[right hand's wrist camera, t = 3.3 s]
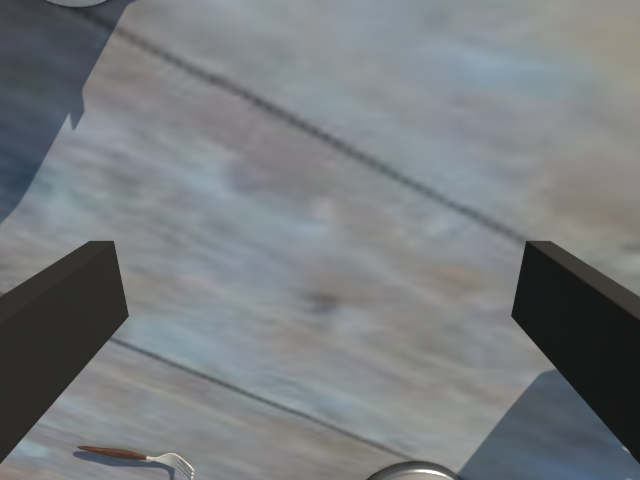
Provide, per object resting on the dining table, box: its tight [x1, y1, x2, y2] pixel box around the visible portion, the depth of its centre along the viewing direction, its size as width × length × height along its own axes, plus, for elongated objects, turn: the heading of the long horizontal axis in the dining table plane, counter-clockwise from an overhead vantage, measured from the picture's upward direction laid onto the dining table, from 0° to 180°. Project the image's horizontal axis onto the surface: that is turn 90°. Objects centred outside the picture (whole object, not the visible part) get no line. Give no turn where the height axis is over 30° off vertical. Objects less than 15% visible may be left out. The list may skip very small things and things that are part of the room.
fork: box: [78, 446, 195, 480], centre depth 52 cm, size 3×16×2 cm, turn 77°
